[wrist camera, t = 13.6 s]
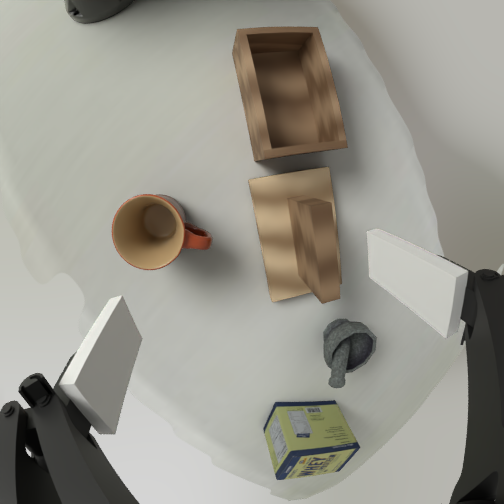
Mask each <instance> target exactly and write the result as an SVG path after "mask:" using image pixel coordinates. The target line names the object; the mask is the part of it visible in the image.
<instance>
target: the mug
mask: <svg viewBox="0 0 504 504" xmlns="http://www.w3.org/2000/svg"><path fill="white" fill-rule="evenodd" d="M112 238H113V242H114V245H115V248H116V250H117V251H118V253H119V254H120V256H121V257H122V258H123V259H124V260H125V261H126V262H127V263H129V264H130V265H132V266H134V267H136V268H139V269H143V270H156V269H160V268H163V267H165V266H167V265H168V264H170V263H171V262H172V261H174V260H175V259H176V258H177V257H178V255H179V254H180V252H181V250H182V248H183V249H190V248H193V249H199V250H207V249H209V248H210V247H211V245H212V240H213V237H212V235H211V234H210V233H209V232H208V231H206V230H204V229H201V228H199V227H197V226H195V225H193V224H191V223H189V222H186V216H185V213H184V210H183V208H182V206H181V205H180V204H179V203H178V202H177V201H176V200H175V199H173V198H172V197H169V196H167V195H151V194H143V195H138V196H135V197H133V198H131V199H129V200H127V201H126V202H125V203H124V204H123V205H122V206H121V207H120V208H119V209H118V211H117V213H116V215H115V217H114V220H113V224H112Z"/></svg>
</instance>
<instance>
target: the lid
mask: <svg viewBox="0 0 504 504" xmlns="http://www.w3.org/2000/svg"><path fill="white" fill-rule="evenodd" d="M248 181H249V186H250V192H251V197H252V202H253V207H254V212H255V218H256V223H257V228H258V234H259V239H260V244H261V249H262V255H263V260H264V266H265V271H266V276H267V282H268V287H269V293H270V298H271V300H272V302H276V301H280V300H284V299H288V298H291V297H295V296H299V295H303V294H307V293H310V292H313V293H314V294H315V296H316V297H317V298H318V299H319V301H320V302H321V303H322V304H323V303H326V302H330V301H333V300H337V299H340V284H342V278H341V263H340V251H339V240H338V231H337V221H336V213H335V205H334V197H333V190H332V183H331V176H330V170H329V167H321V168H314V169H308V170H301V171H295V172H289V173H283V174H277V175H271V176H266V177H260V178H255V179H250V180H248Z"/></svg>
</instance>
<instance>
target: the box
mask: <svg viewBox="0 0 504 504" xmlns="http://www.w3.org/2000/svg"><path fill="white" fill-rule="evenodd" d="M232 54H233V59H234V64H235V68H236V73H237V77H238V82H239V87H240V92H241V96H242V101H243V106H244V111H245V116H246V121H247V125H248V130H249V135H250V140H251V145H252V151H253V156H254V161H260V160H266V159H272V158H278V157H284V156H291V155H298V154H305V153H313V152H321V151H328V150H334V149H341V148H348V147H347V141H346V135H345V130H344V125H343V120H342V115H341V110H340V106H339V101H338V97H337V93H336V89H335V85H334V81H333V77H332V73H331V69H330V66H329V62H328V58H327V55H326V52H325V48H324V45H323V42H322V39H321V35H320V32H319V29H318V27H261V28H247V29H237V33H236V37H235V42H234V47H233V52H232Z"/></svg>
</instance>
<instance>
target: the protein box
mask: <svg viewBox="0 0 504 504" xmlns="http://www.w3.org/2000/svg"><path fill="white" fill-rule="evenodd" d="M263 430H264V433H265V437H266V441H267V444H268V448H269V452H270V456H271V460H272V464H273V468H274V471H275V475H276V479H277V480H283V479H292V478H300V477H307V476H315V475H320V474H326V473H332V472H337V471H340V470H341V469H342V468H343V467H344V465H345V464H346V463H347V462H348V461H349V460H350V459H351V458H352V456H353V455H354V454H355V453H356V452H357V451H358V450H359V448H360V446H359V444H358V442H357V440H356V439H355V437H354V435H353V433H352V431H351V429H350V428H349V426H348V424H347V422H346V420H345V418H344V416H343V415H342V413H341V411H340V409H339V407H338V405H337V403H336V402H335V400H334V401H317V402H275V404H274V406H273V409H272V411H271V413H270V415H269V418H268V420H267V422H266V424H265V427H264V429H263Z"/></svg>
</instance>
